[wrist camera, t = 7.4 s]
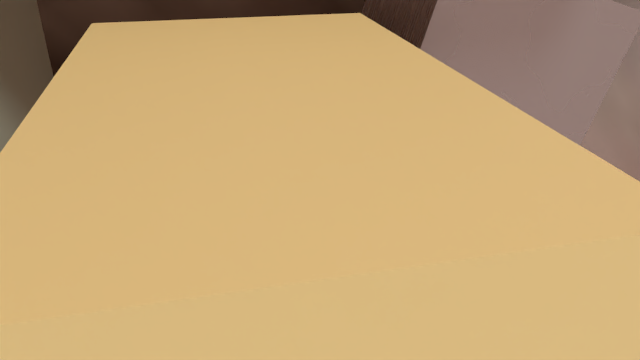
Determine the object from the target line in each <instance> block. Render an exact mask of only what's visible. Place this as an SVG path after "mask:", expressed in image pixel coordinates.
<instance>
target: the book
mask: <svg viewBox="0 0 640 360" xmlns="http://www.w3.org/2000/svg"><path fill="white" fill-rule="evenodd" d="M0 360H640V182H639V181H638V180H636V179H634V178H633V177H631V176H629V175H628V174H626V173H624V172H623V171H621V170H619V169H618V168H616V167H614V166H613V165H611V164H609V163H608V162H606V161H604V160H603V159H601V158H599V157H598V156H596V155H594V154H593V153H591V152H590V151H588V150H586V149H585V148H583V147H581V146H580V145H578V144H576V143H575V142H573V141H571V140H570V139H568V138H566V137H565V136H563V135H561V134H560V133H558V132H556V131H555V130H553V129H551V128H550V127H548V126H546V125H545V124H543V123H541V122H540V121H538V120H536V119H535V118H533V117H532V116H530V115H528V114H527V113H525V112H523V111H522V110H520V109H518V108H517V107H515V106H513V105H512V104H510V103H508V102H507V101H505V100H503V99H502V98H500V97H498V96H497V95H495V94H493V93H492V92H490V91H488V90H487V89H485V88H483V87H482V86H480V85H479V84H477V83H475V82H474V81H472V80H470V79H469V78H467V77H465V76H464V75H462V74H460V73H459V72H457V71H455V70H454V69H452V68H450V67H449V66H447V65H445V64H444V63H442V62H440V61H439V60H437V59H435V58H434V57H432V56H430V55H429V54H427V53H426V52H424V51H422V50H421V49H419V48H417V47H416V46H414V45H412V44H411V43H409V42H407V41H406V40H404V39H402V38H401V37H399V36H397V35H396V34H394V33H392V32H391V31H389V30H387V29H386V28H384V27H382V26H381V25H379V24H377V23H376V22H374V21H373V20H371V19H369V18H368V17H366V16H364V15H363V14H361V13H345V14H319V15H293V16H267V17H241V18H215V19H189V20H163V21H137V22H111V23H92V24H91V25H90V26H89V28H88V29H87V31H86V32H85V34H84V35H83V36H82V38H81V39H80V41H79V42H78V43H77V45H76V46H75V48H74V49H73V51H72V52H71V53H70V55H69V56H68V58H67V59H66V60H65V62H64V63H63V65H62V66H61V67H60V69H59V70H58V72H57V73H56V75H55V76H54V77H53V79H52V80H51V82H50V83H49V84H48V86H47V87H46V89H45V90H44V92H43V93H42V94H41V96H40V97H39V99H38V100H37V101H36V103H35V104H34V106H33V107H32V108H31V110H30V111H29V113H28V114H27V116H26V117H25V118H24V120H23V121H22V123H21V124H20V125H19V127H18V128H17V130H16V131H15V133H14V134H13V135H12V137H11V138H10V140H9V141H8V142H7V144H6V145H5V147H4V148H3V149H2V151H1V152H0Z"/></svg>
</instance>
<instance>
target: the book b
mask: <svg viewBox="0 0 640 360" xmlns="http://www.w3.org/2000/svg"><path fill="white" fill-rule="evenodd" d="M52 79H53V72H52V68H51V63H50V59H49V54H48V50H47V45H46V41H45V36H44V32H43V27H42V23H41V18H40V14H39V9H38V5H37V0H0V152H1V151H2V149H3V148H4V147H5V145H6V144H7V142H8V141H9V140H10V138H11V137H12V135H13V134H14V133H15V131H16V130H17V128H18V127H19V125H20V124H21V123H22V121H23V120H24V118H25V117H26V116H27V114H28V113H29V111H30V110H31V108H32V107H33V106H34V104H35V103H36V101H37V100H38V99H39V97H40V96H41V94H42V93H43V92H44V90H45V89H46V87H47V86H48V84H49V83H50V82H51V80H52Z"/></svg>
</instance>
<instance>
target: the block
mask: <svg viewBox="0 0 640 360" xmlns="http://www.w3.org/2000/svg"><path fill="white" fill-rule="evenodd" d="M361 14H363V15H364V16H366V17H368V18H369V19H371V20H373V21H374V22H376V23H377V24H379V25H381V26H382V27H384V28H386V29H387V30H389V31H391V32H392V33H394V34H396V35H397V36H399V37H401V38H402V39H404V40H406V41H407V42H409V43H411V44H412V45H414V46H416V47H417V48H419V49H421V50H422V51H424V52H426V53H427V54H429V55H430V56H432V57H434V58H435V59H437V60H439V61H440V62H442V63H444V64H445V65H447V66H449V67H450V68H452V69H454V70H455V71H457V72H459V73H460V74H462V75H464V76H465V77H467V78H469V79H470V80H472V81H474V82H475V83H477V84H479V85H480V86H482V87H483V88H485V89H487V90H488V91H490V92H492V93H493V94H495V95H497V96H498V97H500V98H502V99H503V100H505V101H507V102H508V103H510V104H512V105H513V106H515V107H517V108H518V109H520V110H522V111H523V112H525V113H527V114H528V115H530V116H532V117H533V118H535V119H536V120H538V121H540V122H541V123H543V124H545V125H546V126H548V127H550V128H551V129H553V130H555V131H556V132H558V133H560V134H561V135H563V136H565V137H566V138H568V139H570V140H571V141H573V142H575V143H576V144H578V145H580V144H581V142H582V140H583V138H584V136H585V134H586V132H587V130H588V128H589V127H590V125H591V123H592V121H593V119H594V117H595V115H596V113H597V111H598V109H599V107H600V105H601V103H602V101H603V99H604V97H605V95H606V93H607V91H608V89H609V87H610V85H611V83H612V81H613V79H614V77H615V75H616V73H617V71H618V69H619V67H620V65H621V63H622V61H623V59H624V57H625V55H626V53H627V51H628V49H629V47H630V45H631V43H632V41H633V39H634V37H635V35H636V33H637V31H638V29H639V27H640V10H638V9H635V8H632V7H629V6H626V5H623V4H620V3H617V2H614V1H612V0H365V3H364V6H363V9H362V13H361Z"/></svg>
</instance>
